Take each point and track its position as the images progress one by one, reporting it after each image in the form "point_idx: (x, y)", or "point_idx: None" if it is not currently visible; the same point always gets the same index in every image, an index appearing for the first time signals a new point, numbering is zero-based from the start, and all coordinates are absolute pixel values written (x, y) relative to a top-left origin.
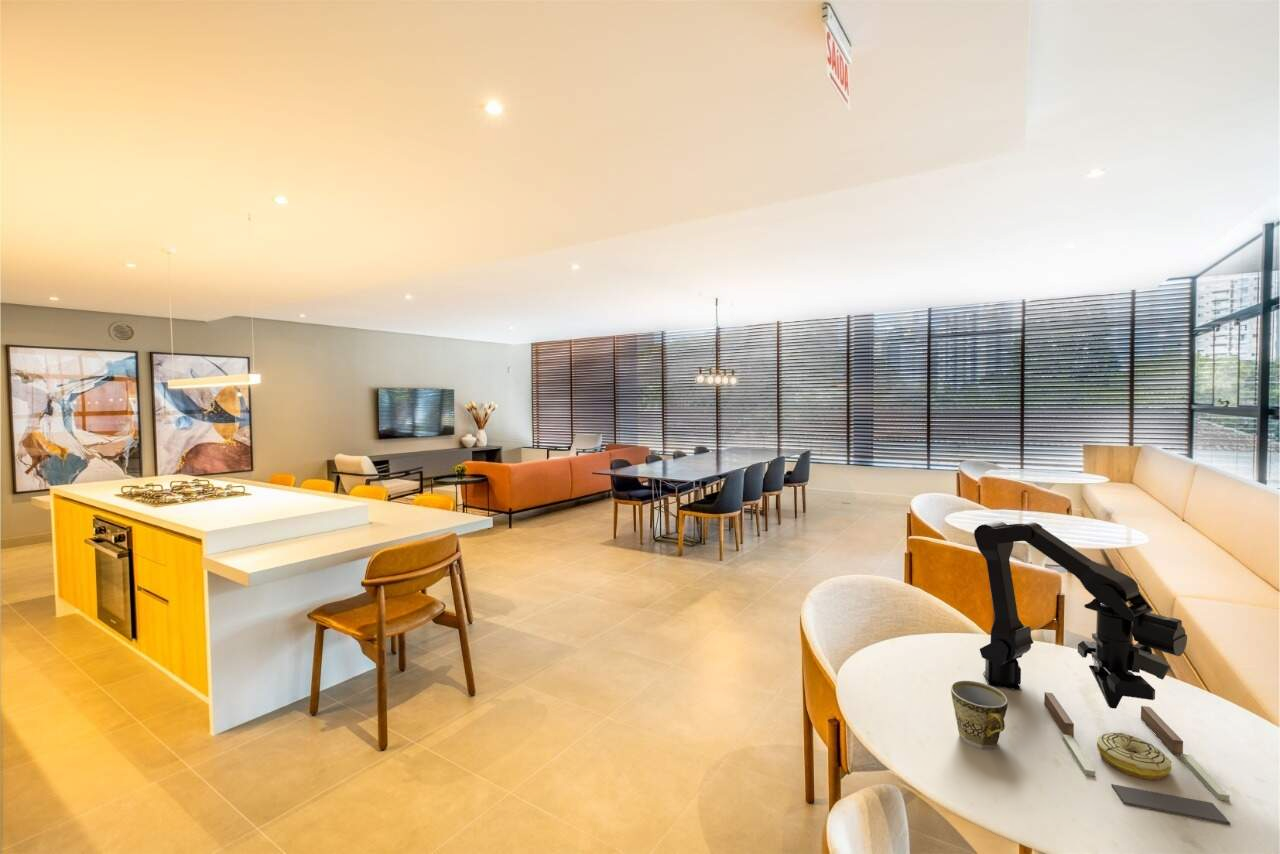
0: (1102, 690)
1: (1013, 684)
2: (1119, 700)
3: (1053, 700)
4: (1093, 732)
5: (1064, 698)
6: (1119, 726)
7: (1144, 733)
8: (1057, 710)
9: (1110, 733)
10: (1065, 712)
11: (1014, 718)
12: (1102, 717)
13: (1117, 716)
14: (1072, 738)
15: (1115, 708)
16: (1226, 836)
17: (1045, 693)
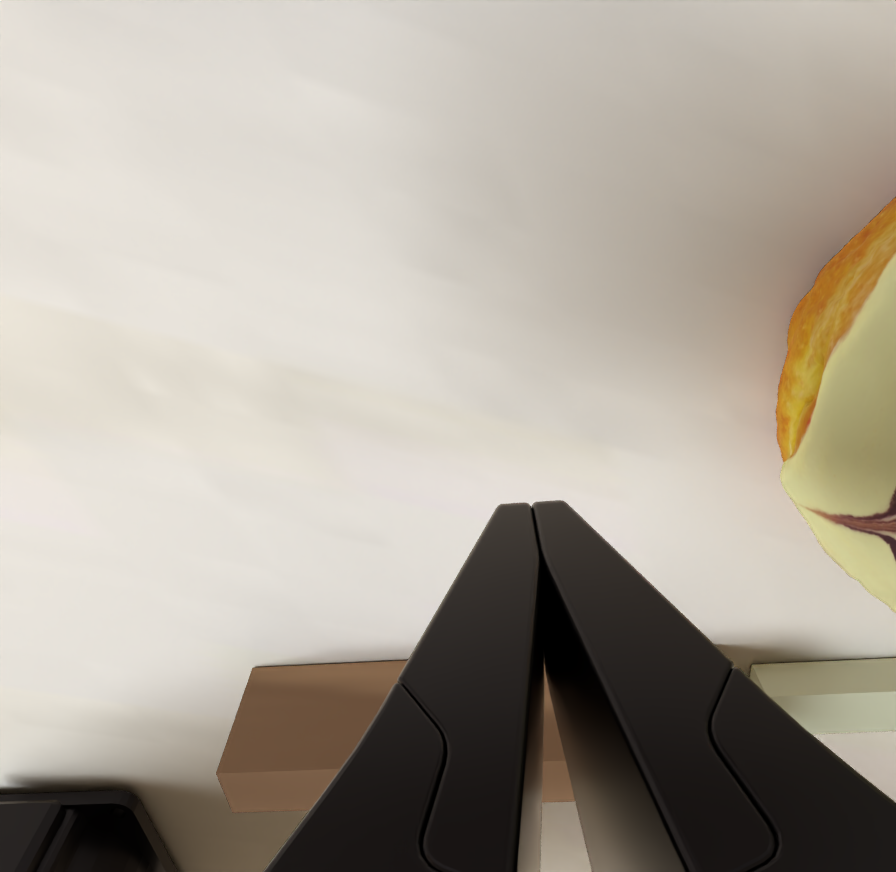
0: (539, 864)
1: (97, 831)
2: (664, 606)
3: None
4: (578, 505)
5: (42, 567)
6: (355, 254)
7: (397, 9)
8: (550, 799)
9: (882, 542)
10: (565, 763)
11: (560, 854)
12: (237, 362)
13: (115, 203)
14: (811, 699)
15: (561, 504)
16: None
17: (256, 809)
